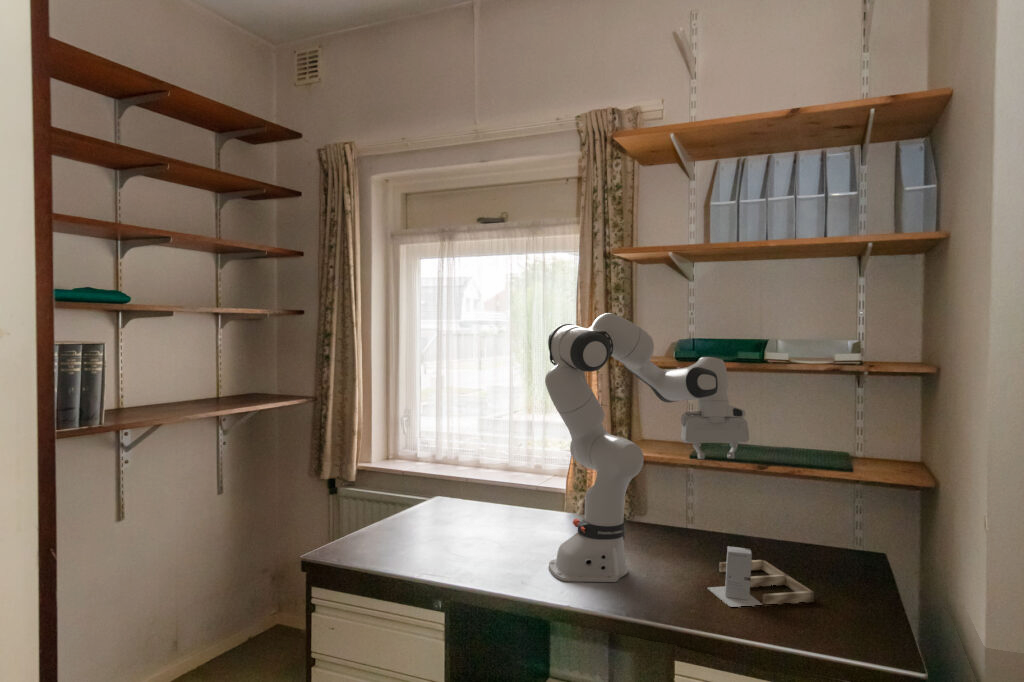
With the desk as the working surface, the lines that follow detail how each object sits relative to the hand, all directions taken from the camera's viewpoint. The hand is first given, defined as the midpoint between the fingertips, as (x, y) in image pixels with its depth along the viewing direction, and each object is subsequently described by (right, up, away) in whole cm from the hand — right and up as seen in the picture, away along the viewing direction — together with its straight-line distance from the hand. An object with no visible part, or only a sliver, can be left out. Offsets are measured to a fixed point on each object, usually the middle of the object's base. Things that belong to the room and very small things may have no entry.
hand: (716, 458), depth 197 cm
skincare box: (-1, -32, -23) cm, 39 cm away
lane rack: (+8, -32, -16) cm, 37 cm away
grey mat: (-2, -32, -23) cm, 40 cm away
